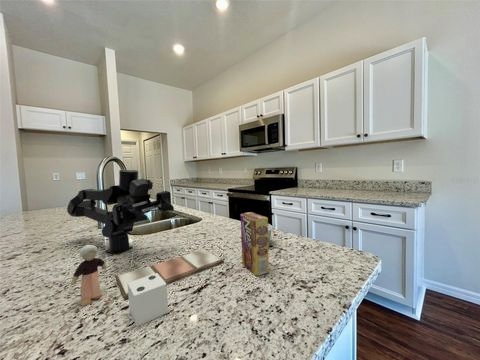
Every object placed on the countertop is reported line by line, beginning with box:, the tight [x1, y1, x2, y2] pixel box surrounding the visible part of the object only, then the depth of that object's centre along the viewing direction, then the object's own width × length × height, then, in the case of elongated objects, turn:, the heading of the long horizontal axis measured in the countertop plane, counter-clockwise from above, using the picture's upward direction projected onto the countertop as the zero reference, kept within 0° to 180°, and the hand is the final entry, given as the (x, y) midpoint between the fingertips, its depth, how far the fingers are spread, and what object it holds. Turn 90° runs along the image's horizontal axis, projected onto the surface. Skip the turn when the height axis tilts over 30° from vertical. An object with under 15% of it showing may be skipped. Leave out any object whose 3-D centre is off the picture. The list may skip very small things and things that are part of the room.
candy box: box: [240, 211, 270, 277], centre depth 60 cm, size 9×4×15 cm, turn 26°
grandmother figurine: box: [70, 244, 108, 307], centre depth 49 cm, size 8×4×13 cm, turn 168°
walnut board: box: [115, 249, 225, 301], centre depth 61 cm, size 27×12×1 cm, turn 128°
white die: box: [127, 273, 169, 327], centre depth 44 cm, size 6×6×6 cm
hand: (161, 213), depth 64 cm, fingers open, 9 cm apart
